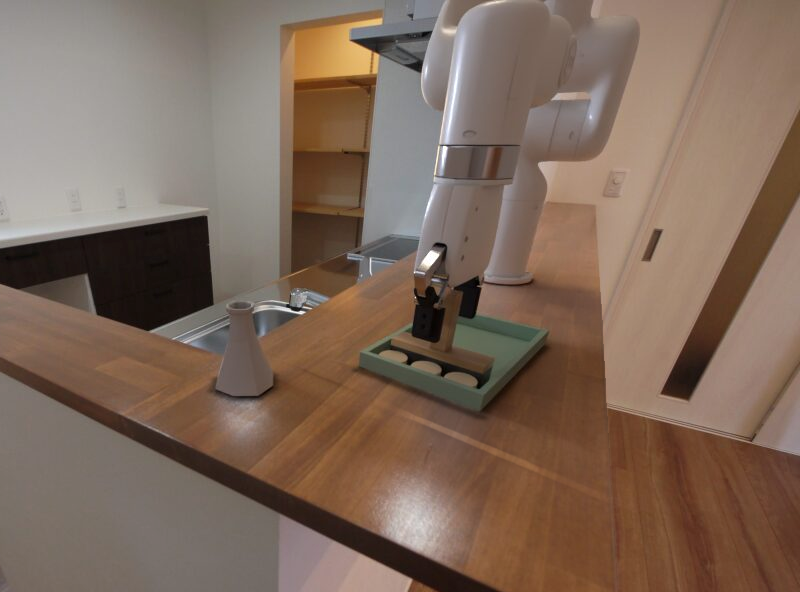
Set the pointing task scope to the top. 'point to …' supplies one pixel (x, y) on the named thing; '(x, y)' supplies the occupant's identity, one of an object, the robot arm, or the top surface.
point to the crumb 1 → (395, 356)
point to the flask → (243, 355)
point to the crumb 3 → (462, 378)
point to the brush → (446, 347)
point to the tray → (477, 335)
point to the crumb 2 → (428, 367)
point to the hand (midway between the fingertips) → (444, 327)
